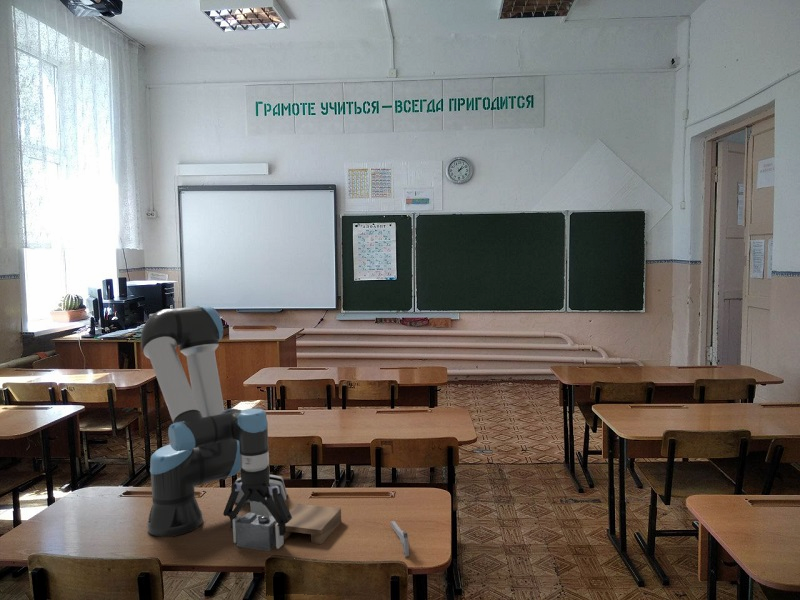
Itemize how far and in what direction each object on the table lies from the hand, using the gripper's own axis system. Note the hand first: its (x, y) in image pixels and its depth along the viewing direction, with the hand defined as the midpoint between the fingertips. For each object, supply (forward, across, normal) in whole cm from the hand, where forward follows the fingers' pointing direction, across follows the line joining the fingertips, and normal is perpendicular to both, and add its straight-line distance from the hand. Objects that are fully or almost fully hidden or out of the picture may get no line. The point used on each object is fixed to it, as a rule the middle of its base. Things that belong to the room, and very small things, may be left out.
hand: (258, 543), depth 163 cm
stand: (0, +10, +11) cm, 15 cm away
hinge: (+1, -14, +26) cm, 30 cm away
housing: (0, 0, 0) cm, 0 cm away
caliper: (+1, +37, +12) cm, 39 cm away
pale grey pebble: (0, -6, +12) cm, 14 cm away
